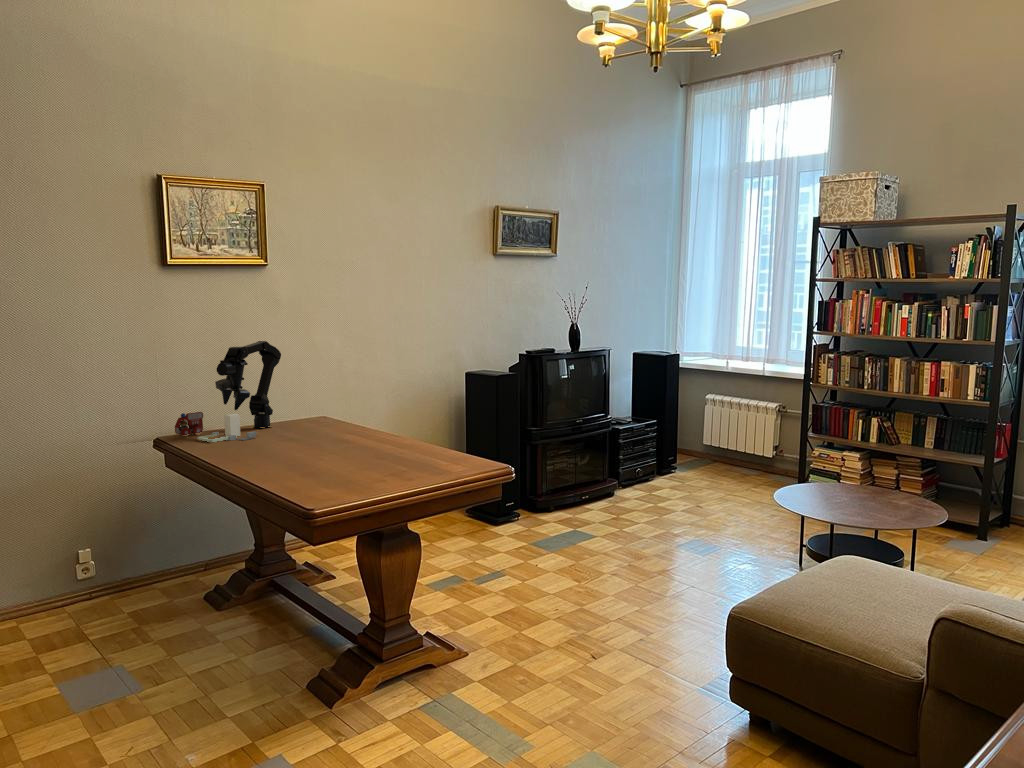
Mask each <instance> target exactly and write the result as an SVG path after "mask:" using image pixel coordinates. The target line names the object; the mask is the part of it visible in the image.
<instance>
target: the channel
mask: <svg viewBox="0 0 1024 768" xmlns="http://www.w3.org/2000/svg"><path fill="white" fill-rule="evenodd" d="M213 434H217V435H219V431H215V432H211V433H210V435H213ZM228 437H229V440H228V441H230V440H231V441H236V440H238V441H243V442H245V441H249V440H255V439H256V437H257V431H250V432H246V437H238V438H237V437H236V435H230V436H228Z"/></svg>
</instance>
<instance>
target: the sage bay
mask: <svg viewBox="0 0 1024 768" xmlns="http://www.w3.org/2000/svg"><path fill="white" fill-rule="evenodd" d="M214 436H217V434H213V435H211V434H209V435H202V436H197V437H196V440H197V439H199V440H202V441H207V442H210V443H209V444H212V443H211V442H214V443H218V442H217V441H220V442H224V441H223V440H226V441H230V440H229V437H228V436H226V437H225V436H221V437H220V438H215V439H208V438H209V437H214ZM202 441H201V442H202ZM207 442H206V443H207Z"/></svg>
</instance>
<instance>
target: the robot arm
mask: <svg viewBox="0 0 1024 768" xmlns="http://www.w3.org/2000/svg"><path fill="white" fill-rule="evenodd" d="M254 353H258V354H259V355H260V356H261V362H262V365H263V366H262V369H261V374H260V379H259V382H258V386H257V391H256V393H255V394H254V395H251V393H250V391H249V390H247V389H245V388H243V387H244V386H242V381H244V380H245V377H244V369H245V366H248V362H247V361H246V360H245V359H246V358H248V357H249V355H251V354H254ZM281 357H282V353H281V351H280V349H278V348H277V347H276V346H274V345H272V344H270V343H269V342H268V341H266V340H258V341H256V342H253V343H249V344H247V345H242V346H230V347H228V350H227V351H226V354H225V356H224V358H223V359H222V360H219V362H220V363H218V364H217V367H216V373H217V374H218V375H219V376H220V377H221V376H222V377H225V376H226V377H225V378H222V379H220V380H216V381H215V382H214V383H215V388H216V389H217V390H219V391H220V392H221V394H222V401H223V405H227V404H228V402H229V400H230V398H231V395H232V393H233V395H232V397H233V398H234V408H233V409H234V411H238V409H239V408H240V407H241V406H242V404H243V403H244V401H246V399H249V398H250V400H249V403H248V404H249V405H248V408H249V411H250V414H251V416H254V419H253V427H256V428H255V429H258V428H260V427H268V426H271V416H272V415H273V411H274V409H273V408H272V407H271V406H270V399H269V397H268V393H269V389H270V385H271V381H272V378H273V374H274V370H275V367H277V366H278V364H279V363H280V360H281Z"/></svg>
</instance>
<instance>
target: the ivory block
mask: <svg viewBox="0 0 1024 768" xmlns="http://www.w3.org/2000/svg"><path fill="white" fill-rule="evenodd" d="M223 420H224V433H225V435H224V437H225V436H230V435H236V438H238V437H237V436H241V424H240V422H241V419H240V414H238V413H229V414H228V413H227V414H224V415H223Z"/></svg>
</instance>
